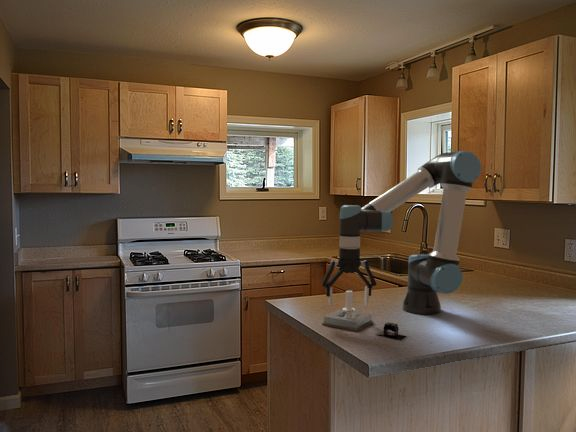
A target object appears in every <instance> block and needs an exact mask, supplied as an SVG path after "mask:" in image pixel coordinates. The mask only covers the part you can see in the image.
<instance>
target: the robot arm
mask: <svg viewBox="0 0 576 432" xmlns="http://www.w3.org/2000/svg"><path fill="white" fill-rule="evenodd" d="M481 164H482V163H481V160H480V159H479V158H478V156H477V155H476V154H475V153H473V152H472V151H468V150H467V151H466V150H458V151H454V152H453V151H451V152H449V151H448V152H444V153H440V154H438V155H437V156H435V157H433V158H432V159H430V160H428V161H427V162H425V163H424V164H422V165H421V166H419V167H418V168H417V172H415V173H413V174H412V175H410V176H409V177H407V178H406V179H404V180H403V181H401V182H399V183H398V184H396V185H395V186H393V187H391V188H390V189H389V190H387V191H386V192H384V193H383V194H380V195H379V196H378V197H376V198H375V199H373V200H371V201H369V203H367V204H366V205H364V206H362V207H361V206H360V205H357V204H355V205H352V204H350V205H349V204H344V205H342V206H340V211H339V247H340V248H339V249H338V252H339V253H338V260H337V261H336V260H333V259H332V260H330V261H329V267H328V269H327V270H326V273H325V275H324V277H323V279H322V281H321V283H320V284H321V286H322V287H324V288H325V295H326V297H328V305H329V307H332V306H333V287H332V286H333V285H334V283H336V282H337V280H338V279H339V278H340V276H341V275H343V274H355V273H356V274H357V275H358V277H360V279H361V280H362V281H363V283H364V284H365V285H366V286H364V301H363V302H364V303H363V304H364V305H365V306H369V300H370V299H369V297H371V296H372V288H373V287H375V286H377V282H376V280H375V277H374V275H373V273H372V271H371V270H370V267H369V261H368V260H366V259H364V260H360V259H361V249H360V247H361V232H389V231H390V230H391V229H392V227H393V223H394V221H393V220H394V219H393V215H392V213H391V212H393V211H394V210H395V209H397V208H398V207H400V206H402V205H403V204H404V203H406V202H408V201H409V200H410V199H412V198H414V197H415V196H417V195H419V194H420V193H421V192H423V191H424V190H426V189H428V188H429V189H430V188H431V189H432V188H434V187H435V186H437V185H440V186H441V187H442V190H443V191H442V197H441V203H440V207H439V209H440V210H439V215H438V219H437V220H438V221H437V226H436V230H435V231H436V232H435V238H434V244H433V250H432V251H431V252H430V253H427V254H411V255H409V256H408V263H407V265H408V266H407V291H406V294H405V295H404V296H405V297H404V300H403V301H402V310H404V311H405V312H408V313H411V314H412V313H413V314H418V315H419V314H420V315H435V314H440V313H441V310H442V307H441V302H440V299H439V295H438V294H439V293H440V294H443V295H447V294H452V293H454V292H456V290H458V289H459V288H460V287H461V285H462V284H463V283H462V282H463V279H464V275H463V272H462V269H461V268H460V258H459V256H458V255H457V254H458V253H457V252H458V246H459V241H460V235H461V230H462V223H463V217H464V210H465V206H466V200H467V194H468V192H470V191H471V190H472V189H473V183H474V181H476V180H477V179H478V178H479V177H480V175H481V174H482V165H481ZM337 266H338V267H339V268H338V269H337V271H336V272H335V273H334V275H332V274H333V272H334V270H335V268H336V267H337ZM360 266H362V267H363V268H364V270H365V272H366V274H367V276H368V278H366V276H365V275H364V274H363V273H362V272H361V270H360V269H359V268H360ZM331 275H332V277H331ZM368 279H369V280H368Z"/></svg>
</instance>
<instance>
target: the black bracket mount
mask: <svg viewBox="0 0 576 432" xmlns="http://www.w3.org/2000/svg"><path fill="white" fill-rule="evenodd" d="M382 329H383V331H382V330H381V331H379V332H378V333H376V334H375V336H377V337H381V338H387V339H393V340H397V341H402V340H404V339H405V338H407V337H408V335H407V336H406V335H402V334H399V330H400V329H399V325H398V323H393V322H385V323H384V325H383V328H382Z"/></svg>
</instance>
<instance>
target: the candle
mask: <svg viewBox="0 0 576 432" xmlns="http://www.w3.org/2000/svg"><path fill="white" fill-rule="evenodd" d="M353 294H354V292H353V290H351V289H349V290H346V291H345V303H344V304H345V307H343V308H342V309H343V310H344V311H346V315H345V318H351V319H353V318H354V317H353V316H352V314H351V312H352V311H356V309H355V308H354V307H353V301H354V295H353Z"/></svg>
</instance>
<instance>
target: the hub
mask: <svg viewBox="0 0 576 432" xmlns="http://www.w3.org/2000/svg"><path fill="white" fill-rule="evenodd" d="M351 314H352V316H353V317H354V318H353V319H351V318H345V315H346V311H344V310H343V308H339V309H337V310H335V311H332V312H331V313H328V314H326V315H325V316H323V322H321V325H322V326H326V325H327V327H331V326H332V327H333V328H337V329H343V330H349V331H354V332H359V331H360V330H363V329H365V327H368V326H369V325H371V324H373V323H374V320H372V315H373V314H372V313H367V312H362V311H356V310H354V311H352V312H351ZM332 327H331V328H332Z"/></svg>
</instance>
